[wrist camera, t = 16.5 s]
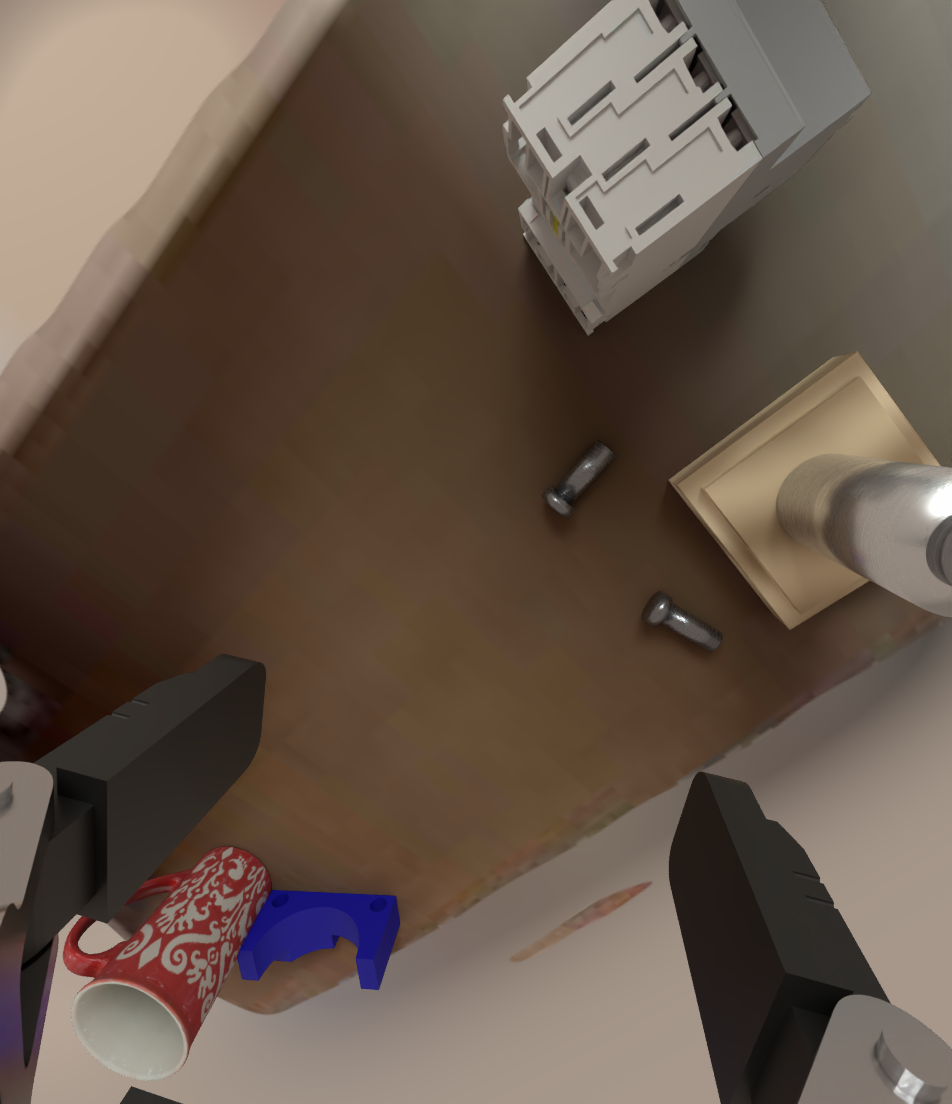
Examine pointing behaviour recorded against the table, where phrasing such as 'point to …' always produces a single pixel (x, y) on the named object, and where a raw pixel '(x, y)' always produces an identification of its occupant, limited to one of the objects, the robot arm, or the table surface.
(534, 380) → the table surface
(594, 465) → the bolt
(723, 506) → the stand
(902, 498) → the silver metal bottle
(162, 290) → the table surface
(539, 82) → the circuit breaker
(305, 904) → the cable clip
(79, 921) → the mug
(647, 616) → the bolt
